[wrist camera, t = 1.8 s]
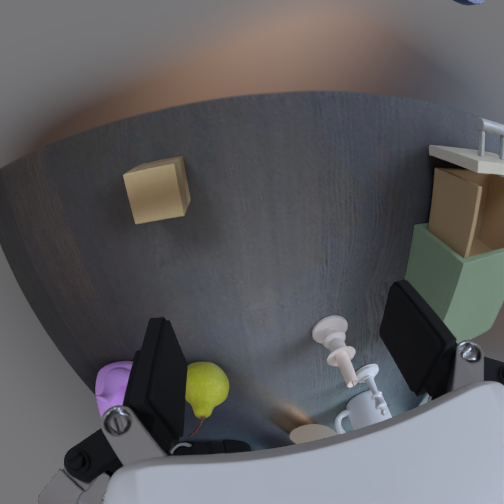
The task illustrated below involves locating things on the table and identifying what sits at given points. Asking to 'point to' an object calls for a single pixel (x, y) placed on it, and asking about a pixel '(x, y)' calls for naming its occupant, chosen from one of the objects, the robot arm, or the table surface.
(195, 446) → the headphones
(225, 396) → the fruit
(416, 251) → the cabinet
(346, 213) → the table surface
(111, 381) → the teapot
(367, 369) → the chess piece
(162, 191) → the block
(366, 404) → the mug
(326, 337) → the candle
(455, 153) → the drawer
